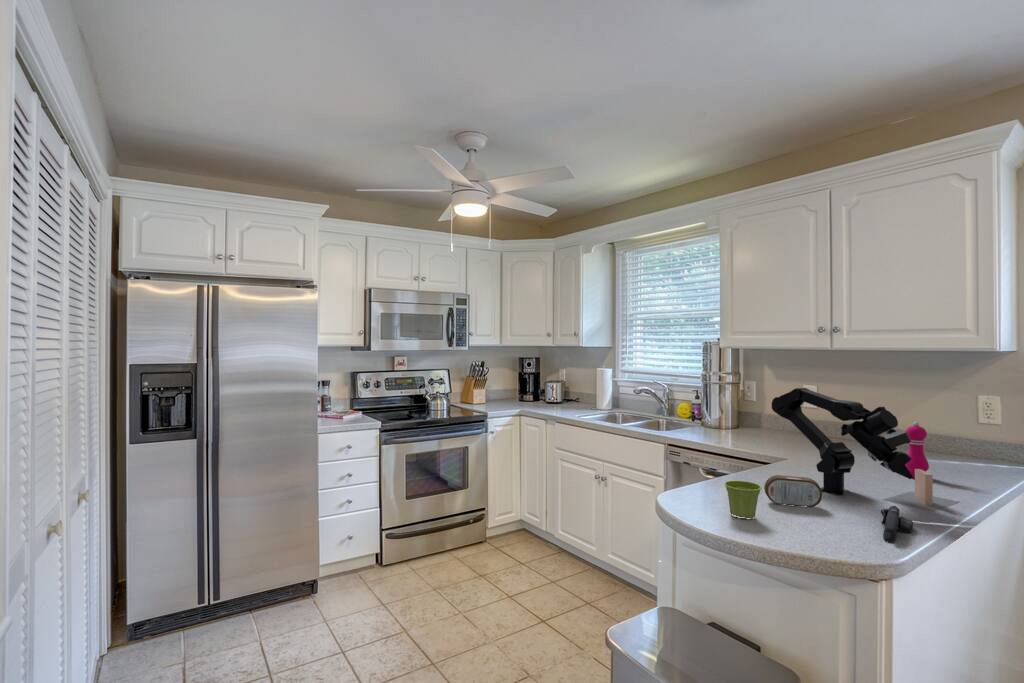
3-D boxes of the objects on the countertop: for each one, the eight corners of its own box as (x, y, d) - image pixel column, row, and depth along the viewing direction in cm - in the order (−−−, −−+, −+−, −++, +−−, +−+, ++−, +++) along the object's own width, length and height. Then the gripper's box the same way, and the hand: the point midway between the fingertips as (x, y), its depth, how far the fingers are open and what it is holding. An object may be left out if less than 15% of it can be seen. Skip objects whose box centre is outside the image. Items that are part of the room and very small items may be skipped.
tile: (925, 505, 153) (925, 474, 153) (914, 498, 160) (914, 468, 160) (932, 505, 153) (932, 474, 153) (921, 499, 159) (921, 469, 160)
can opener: (882, 522, 141) (882, 501, 141) (914, 528, 136) (914, 506, 136) (870, 540, 128) (870, 517, 128) (906, 547, 123) (906, 523, 123)
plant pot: (769, 518, 142) (769, 486, 142) (746, 524, 138) (746, 491, 138) (739, 509, 151) (739, 479, 151) (716, 514, 146) (717, 483, 146)
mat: (933, 513, 148) (933, 511, 148) (882, 501, 159) (882, 499, 159) (960, 503, 157) (960, 501, 157) (909, 493, 168) (909, 491, 168)
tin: (820, 506, 154) (820, 477, 154) (823, 509, 151) (823, 480, 151) (764, 501, 159) (764, 473, 159) (765, 504, 156) (765, 475, 156)
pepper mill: (925, 476, 190) (925, 421, 191) (931, 480, 184) (931, 423, 184) (901, 474, 193) (901, 419, 194) (906, 478, 187) (906, 422, 187)
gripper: (902, 425, 150) (949, 467, 147) (879, 417, 168) (920, 454, 164) (870, 451, 152) (916, 492, 149) (851, 440, 170) (891, 477, 167)
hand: (911, 477), depth 157 cm, fingers closed
